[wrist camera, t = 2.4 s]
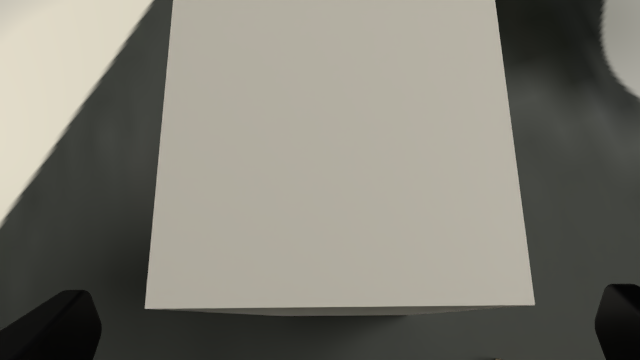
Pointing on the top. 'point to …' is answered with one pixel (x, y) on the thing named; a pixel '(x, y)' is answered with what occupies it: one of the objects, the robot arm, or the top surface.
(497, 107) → the fuselage block
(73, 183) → the top surface
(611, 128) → the top surface
